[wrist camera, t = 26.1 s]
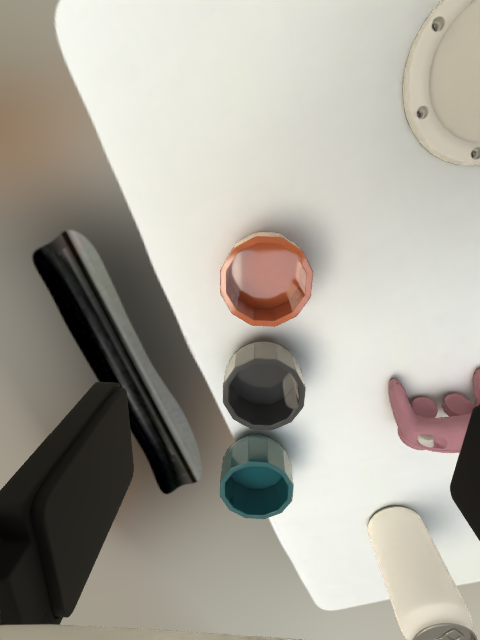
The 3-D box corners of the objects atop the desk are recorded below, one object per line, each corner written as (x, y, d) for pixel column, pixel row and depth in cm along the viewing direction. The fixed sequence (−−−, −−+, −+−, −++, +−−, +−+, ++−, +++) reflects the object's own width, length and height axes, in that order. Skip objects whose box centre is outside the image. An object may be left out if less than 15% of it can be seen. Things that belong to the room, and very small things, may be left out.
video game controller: (380, 399, 38) (403, 463, 33) (386, 375, 35) (412, 442, 30) (475, 388, 37) (513, 452, 32) (490, 362, 34) (535, 430, 29)
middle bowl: (226, 228, 31) (220, 234, 26) (306, 231, 31) (316, 238, 26) (225, 305, 34) (219, 324, 28) (299, 308, 33) (307, 328, 28)
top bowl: (225, 425, 38) (220, 460, 33) (290, 428, 38) (295, 464, 33) (224, 476, 40) (219, 516, 35) (285, 480, 40) (290, 520, 35)
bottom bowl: (228, 333, 34) (223, 356, 29) (300, 336, 34) (308, 360, 29) (227, 396, 37) (222, 427, 32) (294, 399, 37) (301, 431, 32)
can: (355, 524, 42) (391, 644, 31) (397, 495, 40) (452, 611, 29) (390, 551, 43) (437, 676, 32) (432, 524, 41) (498, 646, 30)
